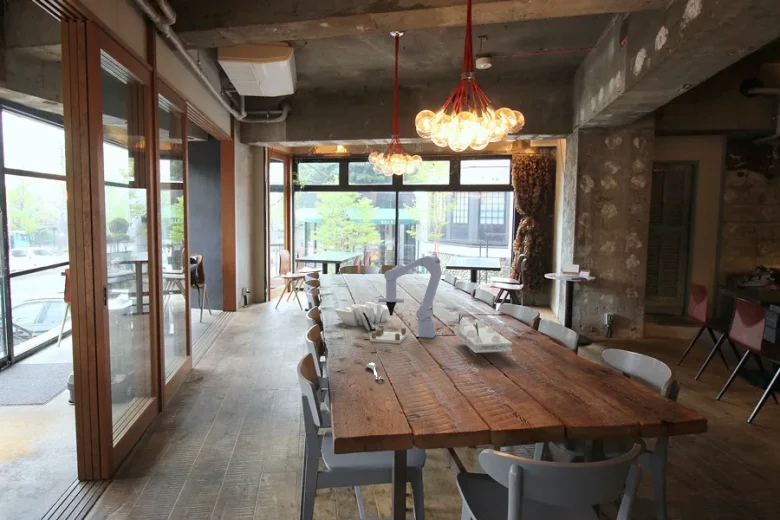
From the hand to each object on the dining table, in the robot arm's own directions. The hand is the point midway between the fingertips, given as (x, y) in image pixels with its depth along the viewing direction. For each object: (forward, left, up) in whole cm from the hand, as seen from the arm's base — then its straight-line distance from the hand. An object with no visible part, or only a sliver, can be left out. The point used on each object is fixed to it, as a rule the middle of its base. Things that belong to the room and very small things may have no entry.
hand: (391, 315), depth 264 cm
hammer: (+3, +12, -8) cm, 14 cm away
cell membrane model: (-50, +26, -10) cm, 58 cm away
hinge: (+16, -6, -10) cm, 20 cm away
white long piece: (-13, +71, -10) cm, 73 cm away
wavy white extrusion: (+23, -20, -10) cm, 32 cm away
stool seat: (-3, +15, -9) cm, 18 cm away
